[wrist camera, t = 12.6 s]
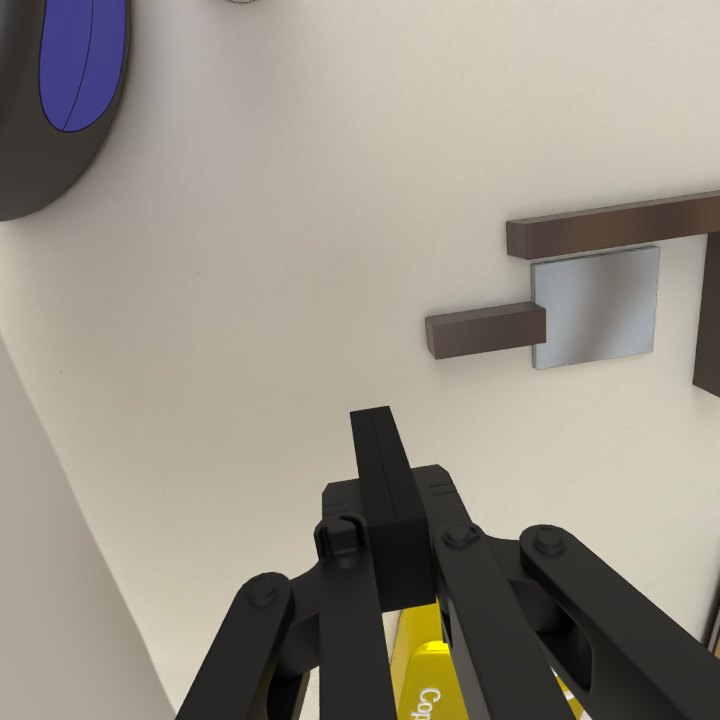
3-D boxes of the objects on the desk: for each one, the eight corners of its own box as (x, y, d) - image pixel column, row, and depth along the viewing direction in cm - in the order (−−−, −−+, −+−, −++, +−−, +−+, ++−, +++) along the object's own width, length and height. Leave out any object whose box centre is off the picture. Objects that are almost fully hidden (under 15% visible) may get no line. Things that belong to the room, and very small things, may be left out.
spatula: (431, 382, 32) (438, 395, 30) (421, 280, 29) (428, 286, 27) (647, 349, 32) (669, 359, 30) (654, 245, 30) (678, 248, 28)
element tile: (402, 593, 37) (413, 647, 33) (580, 600, 39) (614, 653, 34) (378, 725, 42) (384, 789, 37) (537, 727, 43) (562, 788, 39)
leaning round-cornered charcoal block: (71, 250, 27) (-52, 273, 18) (-10, 210, 26) (-182, 214, 17) (178, -43, 23) (87, -196, 14) (86, -102, 22) (-73, -306, 13)
